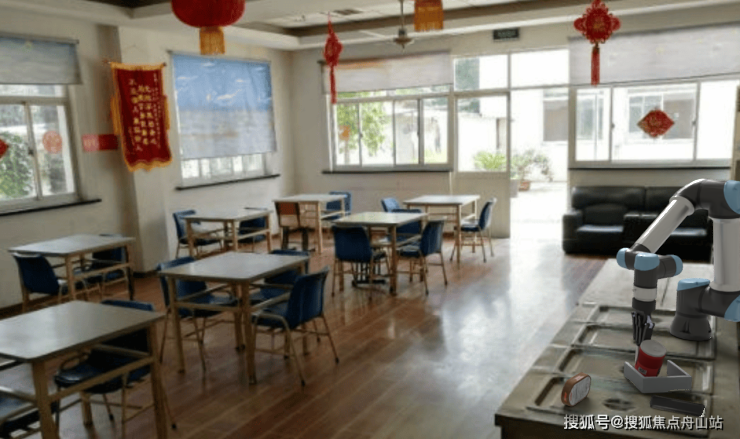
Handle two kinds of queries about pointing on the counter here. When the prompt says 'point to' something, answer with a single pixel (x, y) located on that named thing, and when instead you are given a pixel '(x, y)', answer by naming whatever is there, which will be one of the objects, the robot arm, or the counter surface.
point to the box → (659, 379)
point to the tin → (576, 389)
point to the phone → (676, 405)
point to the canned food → (650, 358)
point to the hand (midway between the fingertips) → (639, 362)
